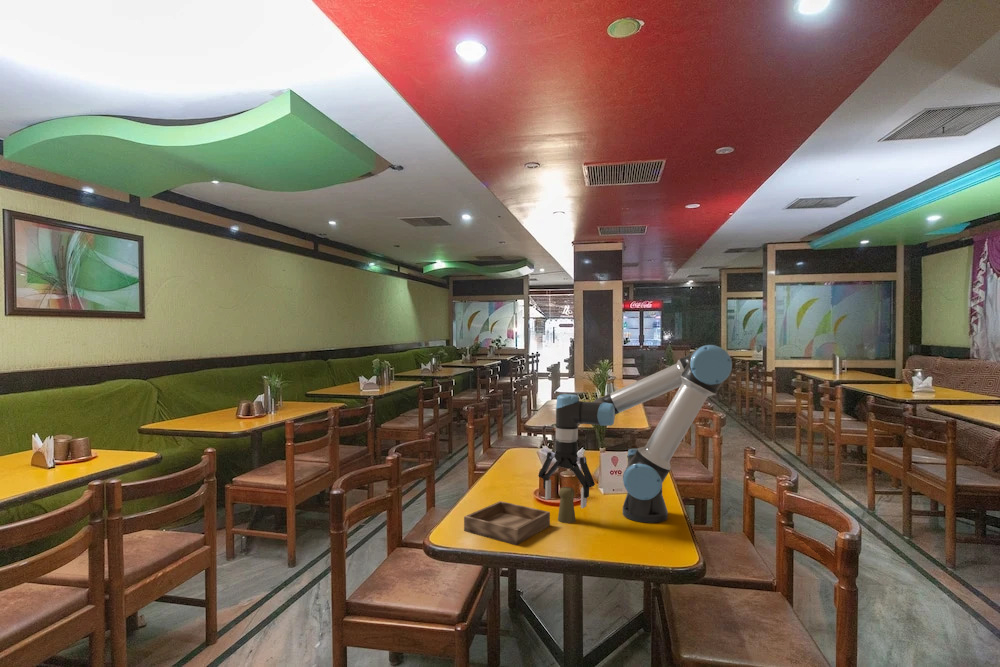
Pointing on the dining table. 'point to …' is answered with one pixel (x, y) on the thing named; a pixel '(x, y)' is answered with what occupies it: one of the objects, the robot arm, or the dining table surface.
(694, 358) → the robot arm
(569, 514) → the olive pepper mill
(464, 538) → the dining table surface
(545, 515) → the tray
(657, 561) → the dining table surface
